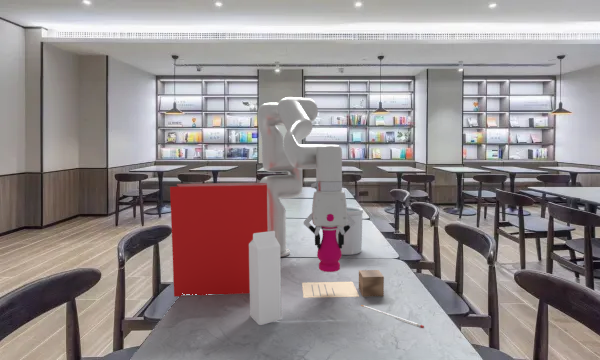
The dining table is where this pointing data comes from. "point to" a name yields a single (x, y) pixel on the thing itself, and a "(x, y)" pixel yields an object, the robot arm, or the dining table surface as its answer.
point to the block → (371, 283)
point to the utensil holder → (352, 233)
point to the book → (215, 235)
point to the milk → (265, 278)
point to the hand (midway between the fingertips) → (329, 246)
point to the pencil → (396, 317)
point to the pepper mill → (329, 249)
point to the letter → (329, 289)
